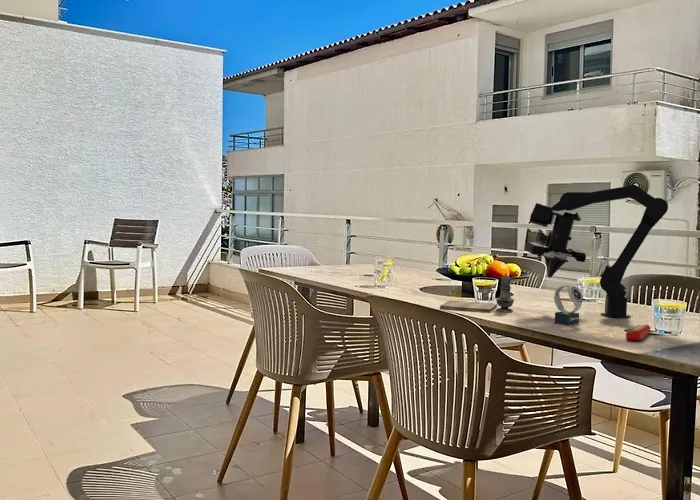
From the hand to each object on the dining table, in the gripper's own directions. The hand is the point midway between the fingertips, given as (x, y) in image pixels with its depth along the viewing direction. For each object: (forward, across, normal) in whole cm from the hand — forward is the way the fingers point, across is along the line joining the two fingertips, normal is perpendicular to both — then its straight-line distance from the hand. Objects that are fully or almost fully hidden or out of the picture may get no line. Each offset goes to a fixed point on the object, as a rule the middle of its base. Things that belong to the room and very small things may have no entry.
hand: (549, 277), depth 215 cm
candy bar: (+1, -4, +47) cm, 47 cm away
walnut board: (+15, +23, -3) cm, 28 cm away
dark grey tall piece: (+13, +13, +3) cm, 19 cm away
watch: (+6, +5, +26) cm, 28 cm away
